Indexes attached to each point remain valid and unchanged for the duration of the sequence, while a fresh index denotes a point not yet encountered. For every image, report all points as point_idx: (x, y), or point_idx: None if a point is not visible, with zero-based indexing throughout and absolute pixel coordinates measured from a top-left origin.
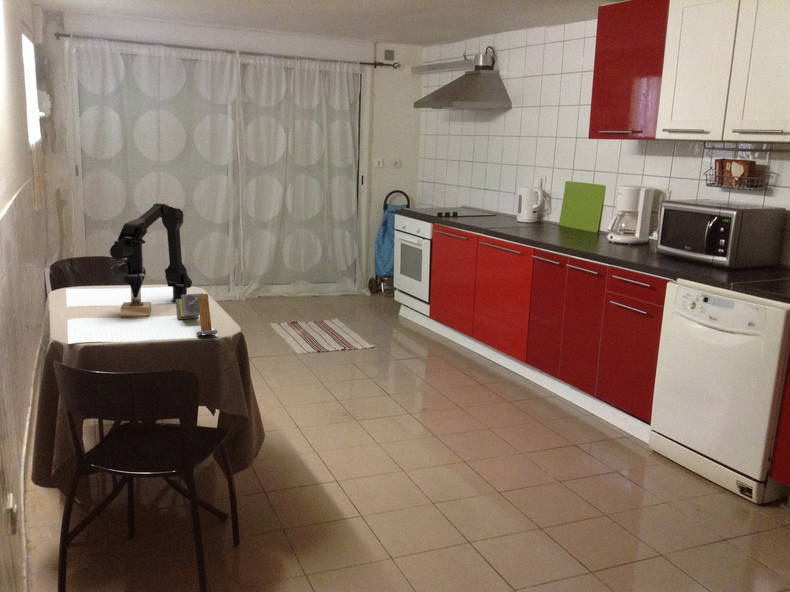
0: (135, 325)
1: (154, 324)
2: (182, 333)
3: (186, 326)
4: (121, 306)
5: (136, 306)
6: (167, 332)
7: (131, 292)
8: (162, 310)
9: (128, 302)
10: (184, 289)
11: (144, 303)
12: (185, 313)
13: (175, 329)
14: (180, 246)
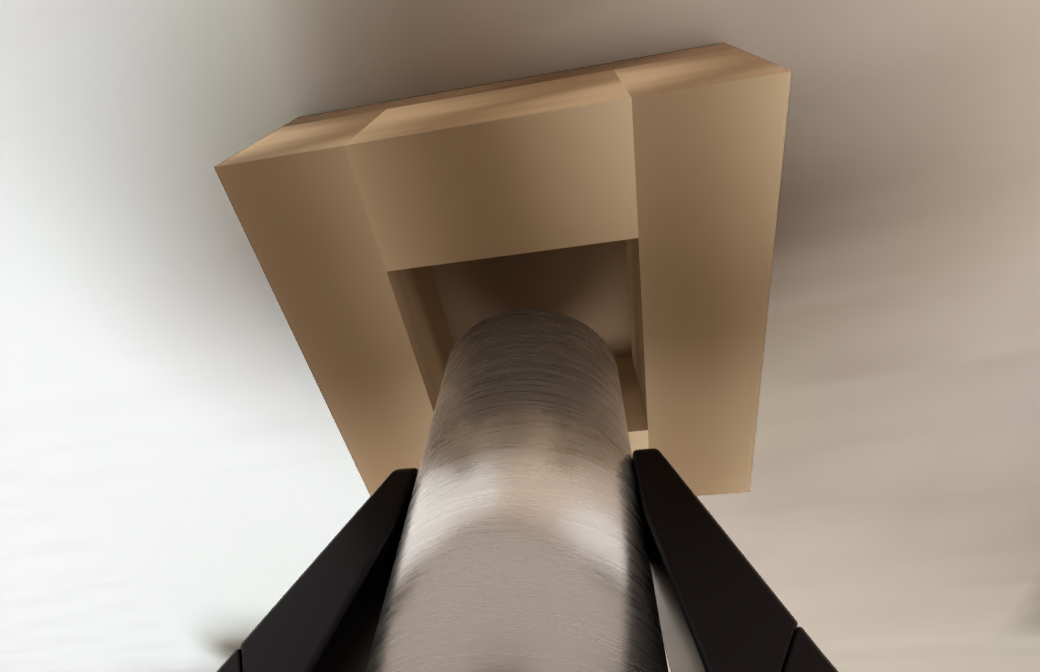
0: (47, 372)
1: (173, 498)
2: (38, 646)
3: (217, 648)
4: (339, 148)
5: (405, 386)
6: (2, 589)
7: (425, 509)
8: (773, 472)
9: (747, 183)
10: None
11: (636, 442)
12: None
13: (107, 614)
14: None
